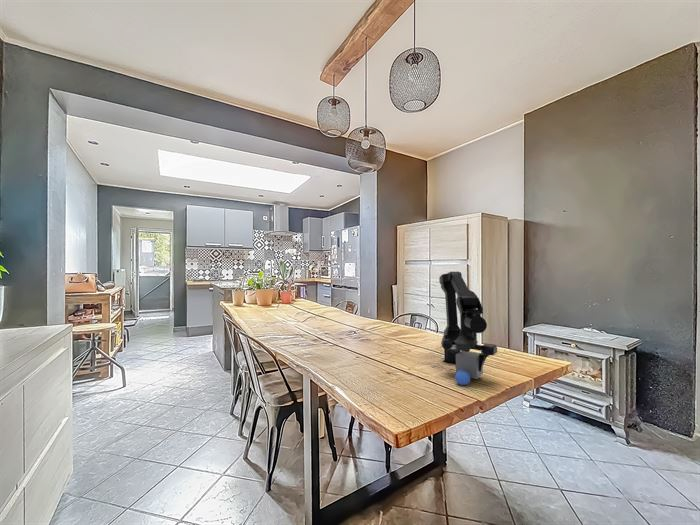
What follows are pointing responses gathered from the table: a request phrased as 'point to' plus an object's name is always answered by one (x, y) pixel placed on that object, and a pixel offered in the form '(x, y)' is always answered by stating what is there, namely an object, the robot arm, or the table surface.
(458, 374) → the ball
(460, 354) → the concrete-looking gray cube
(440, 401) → the table surface
